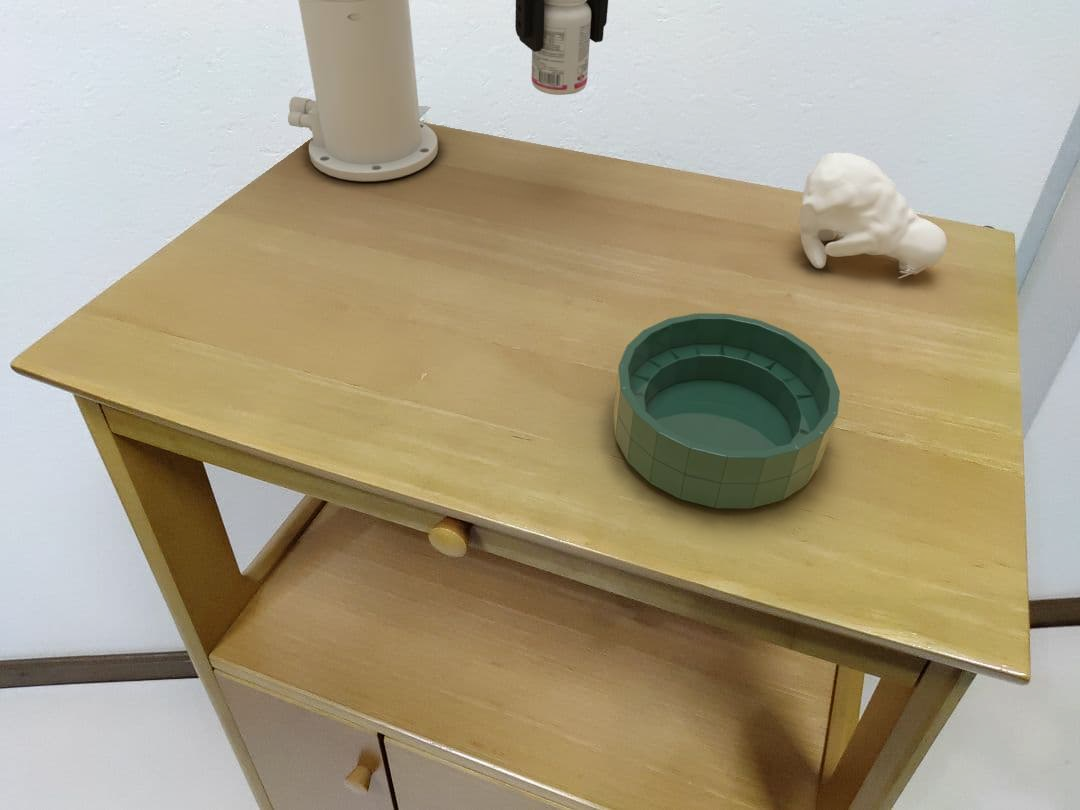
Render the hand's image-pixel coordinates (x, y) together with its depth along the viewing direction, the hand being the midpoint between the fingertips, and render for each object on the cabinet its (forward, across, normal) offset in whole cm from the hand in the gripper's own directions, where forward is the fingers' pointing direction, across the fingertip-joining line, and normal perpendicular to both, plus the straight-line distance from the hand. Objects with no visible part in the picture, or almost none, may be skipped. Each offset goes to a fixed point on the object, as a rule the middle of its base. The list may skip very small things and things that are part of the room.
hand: (560, 38), depth 68 cm
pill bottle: (+4, 0, 0) cm, 4 cm away
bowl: (+13, +5, +34) cm, 36 cm away
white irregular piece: (+13, -18, +22) cm, 31 cm away
